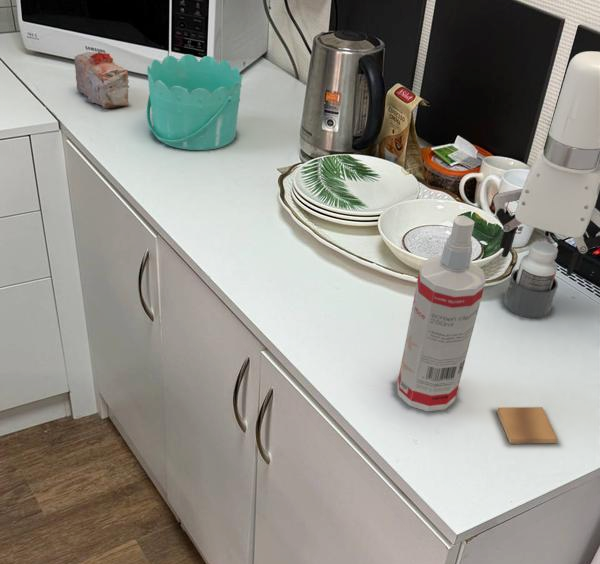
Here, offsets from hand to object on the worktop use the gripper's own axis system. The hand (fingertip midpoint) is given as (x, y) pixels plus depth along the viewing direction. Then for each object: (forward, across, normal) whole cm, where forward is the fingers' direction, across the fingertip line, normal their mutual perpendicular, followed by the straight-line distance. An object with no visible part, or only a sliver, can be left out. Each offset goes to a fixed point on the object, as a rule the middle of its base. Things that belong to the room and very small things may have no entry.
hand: (537, 262), depth 119 cm
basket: (+8, +75, -28) cm, 81 cm away
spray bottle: (+8, +7, +28) cm, 30 cm away
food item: (+9, +101, -33) cm, 107 cm away
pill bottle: (+7, 0, 0) cm, 8 cm away
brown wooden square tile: (+8, -7, +29) cm, 30 cm away
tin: (+8, 0, 0) cm, 8 cm away
